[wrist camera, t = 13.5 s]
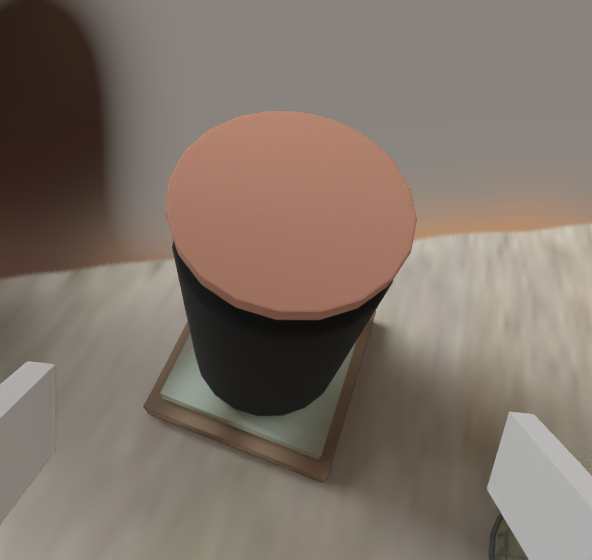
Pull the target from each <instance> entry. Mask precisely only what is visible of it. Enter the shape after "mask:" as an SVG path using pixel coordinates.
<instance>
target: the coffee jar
mask: <svg viewBox="0 0 592 560" xmlns="http://www.w3.org/2000/svg"><path fill="white" fill-rule="evenodd" d="M165 213H166V217H167V220H168V223H169V227H170V230H171V233H172V237H173V246H172V249H173V253H174V258H175V263H176V267H177V272H178V277H179V282H180V286H181V291H182V296H183V300H184V305H185V310H186V315H187V319H188V324H189V329H190V334H191V338H192V343H193V348H194V352H195V356H196V360H197V363H198V367H199V370H200V374H201V376H202V378H203V379H204V380H205V382H206V383H207V385H208V386H209V387H210V389H211V390H212V392H213V393H214V395H216V396H217V397H219V398H220V399H221V400H223V401H224V402H225V403H227V404H228V405H230V406H231V407H232V408H234V409H236V410H240V411H243V412H246V413H249V414H253V415H256V416H283V415H286V414H289V413H292V412H294V411H297V410H300V409H303V408H305V407H307V406H308V405H309V404H311V403H312V402H313V401H314V400H316V399H317V398H318V397H319V396H321V395H322V394H323V393H324V392H325V390H326V389H327V387H328V386H329V384H330V383H331V381H332V379H333V378H334V376H335V375H336V373H337V372H338V370H339V368H340V367H341V365H342V363H343V362H344V360H345V359H346V357H347V355H348V354H349V352H350V350H351V349H352V347H353V346H354V344H355V342H356V341H357V339H358V338H359V336H360V334H361V333H362V331H363V329H364V328H365V326H366V325H367V323H368V321H369V320H370V318H371V316H372V315H373V313H374V312H375V310H376V308H377V307H378V305H379V304H380V302H381V300H382V299H383V297H384V295H385V294H386V292H387V291H388V289H389V287H390V286H391V284H392V282H393V279H394V277H395V276H396V274H397V273H398V271H399V269H400V268H401V266H402V265H403V263H404V262H405V260H406V259H407V257H408V256H409V254H410V253H411V248H412V243H413V237H414V232H415V226H416V220H417V219H416V214H415V209H414V204H413V199H412V195H411V189H410V187H409V186H408V184H407V182H406V181H405V179H404V177H403V176H402V174H401V172H400V170H399V169H398V167H397V165H396V164H395V162H394V161H393V160H392V159H391V158H390V157H389V156H388V155H387V154H386V153H384V151H383V150H381V149H380V148H379V147H378V146H377V145H376V144H375V143H374V142H373V141H372V140H371V139H369V138H367V137H366V136H364V135H362V134H360V133H359V132H357V131H355V130H353V129H351V128H350V127H348V126H346V125H344V124H342V123H340V122H337V121H334V120H330V119H327V118H323V117H320V116H316V115H313V114H310V113H302V112H285V111H268V112H262V113H256V114H251V115H244V116H239V117H237V118H234V119H232V120H230V121H228V122H225V123H223V124H221V125H219V126H217V127H214V128H212V129H210V130H208V131H207V132H206V133H205V134H204V135H202V136H201V137H200V138H199V139H198V140H197V141H196V142H194V144H192V145H191V146H190V147H189V148H188V149H187V150H185V151H184V153H183V155H182V157H181V159H180V160H179V162H178V164H177V166H176V168H175V170H174V172H173V173H172V175H171V177H170V179H169V184H168V193H167V202H166V212H165Z"/></svg>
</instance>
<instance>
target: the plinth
mask: <svg viewBox="0 0 592 560" xmlns="http://www.w3.org/2000/svg"><path fill="white" fill-rule="evenodd" d="M375 313H376V311H375V312H374V313H373V315H372V316H371V318H370V320H369V321H368V323H367V325H366V326H365V328H364V329H363V331H362V333H361V334H360V336H359V338H358V339H357V341H356V342H355V344H354V346H353V347H352V349H351V350H350V352H349V354H348V355H347V357H346V359H345V360H344V362H343V363H342V365H341V367H340V368H339V370H338V372H337V373H336V375H335V376H334V378H333V379H332V381H331V383H330V384H329V386H328V387H327V389H326V390H325V392H324V393H323V394H322V395H321V396H319V397H318V398H317V399H316V400H314V401H313V402H312V403H311V404H309V405H308V406H307V407H305V408H303V409H300V410H297V411H294V412H292V413H289V414H286V415H283V416H256V415H253V414H249V413H246V412H243V411H240V410H236V409H234V408H232V407H231V406H230V405H228V404H227V403H225V402H224V401H223V400H221V399H220V398H219V397H217V396H216V395H214V393H213V392H212V390H211V389H210V387H209V386H208V385H207V383H206V382H205V380H204V379H203V378H202V376H201V374H200V370H199V367H198V363H197V360H196V356H195V352H194V348H193V343H192V338H191V334H190V329H189V324H188V322H187V324H186V326H185V328H184V330H183V332H182V334H181V336H180V338H179V340H178V342H177V343H176V345H175V347H174V349H173V351H172V353H171V355H170V357H169V359H168V361H167V363H166V365H165V367H164V368H163V370H162V372H161V374H160V376H159V378H158V380H157V382H156V384H155V386H154V388H153V390H152V391H151V393H150V395H149V397H148V399H147V401H146V403H145V405H144V408H145V410H146V411H147V413H148V414H151V415H153V416H156V417H158V418H161V419H163V420H166V421H169V422H171V423H174V424H176V425H179V426H181V427H184V428H186V429H189V430H191V431H194V432H196V433H199V434H201V435H204V436H206V437H209V438H211V439H214V440H217V441H219V442H222V443H224V444H227V445H229V446H232V447H234V448H237V449H239V450H242V451H244V452H247V453H249V454H252V455H254V456H257V457H260V458H262V459H265V460H267V461H270V462H272V463H275V464H277V465H280V466H282V467H285V468H287V469H290V470H292V471H295V472H297V473H300V474H302V475H305V476H308V477H310V478H313V479H315V480H318V481H320V482H323V481H325V480H326V479H327V476H328V473H329V469H330V466H331V463H332V459H333V456H334V452H335V449H336V446H337V442H338V439H339V435H340V432H341V429H342V425H343V422H344V418H345V415H346V412H347V408H348V405H349V401H350V398H351V395H352V391H353V388H354V385H355V381H356V378H357V374H358V371H359V368H360V364H361V361H362V357H363V354H364V351H365V347H366V344H367V340H368V337H369V334H370V330H371V327H372V324H373V320H374V317H375Z"/></svg>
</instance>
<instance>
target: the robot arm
mask: <svg viewBox="0 0 592 560" xmlns="http://www.w3.org/2000/svg"><path fill="white" fill-rule="evenodd" d="M55 450H56V367H55V364H50V363H40V362H31V361H27V362H26V363H24V364H23V365H22V366H21V367H20V368H19V369H17V370H16V371H15V372H14V373H13V374H12V375H10V376H9V377H8V378H7V379H6V380H5V381H3V382H2V383H1V384H0V524H1V523H2V522H3V520H4V519H5V518H6V516H7V515H8V513H9V512H10V511H11V509H12V508H13V507H14V505H15V504H16V503H17V501H18V500H19V499H20V497H21V496H22V494H23V493H24V492H25V490H26V489H27V488H28V486H29V485H30V484H31V482H32V481H33V480H34V478H35V477H36V476H37V474H38V473H39V471H40V470H41V469H42V467H43V466H44V465H45V463H46V462H47V461H48V459H49V458H50V457H51V455H52V454H53V452H54V451H55ZM487 490H488V492H489V494H490V495H491V497H492V499H493V500H494V502H495V504H496V506H497V507H498V509H499V511H500V512H501V514H502V516H503V517H504V519H505V521H506V522H507V524H508V526H509V527H510V529H511V531H512V532H513V534H514V536H515V537H516V539H517V541H518V542H519V544H520V546H521V547H522V549H523V551H524V552H525V554H526V556H527V557H528V559H529V560H592V476H591V474H590V473H589V472H588V471H587V470H586V469H585V468H584V467H583V466H582V465H581V464H580V463H579V462H578V461H577V460H576V458H575V457H574V456H573V455H572V454H571V453H570V452H569V451H568V450H567V449H566V448H565V447H564V446H563V445H562V444H561V442H560V441H559V440H558V439H557V438H556V437H555V436H554V435H553V434H552V433H551V432H550V431H549V430H548V429H547V428H546V426H545V425H544V424H543V423H542V422H541V421H540V420H539V419H538V418H537V417H536V416H535V415H534V414H528V413H518V412H509V414H508V418H507V421H506V424H505V428H504V431H503V435H502V438H501V442H500V445H499V449H498V452H497V455H496V459H495V462H494V466H493V469H492V473H491V476H490V480H489V483H488V486H487Z"/></svg>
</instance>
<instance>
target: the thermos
mask: <svg viewBox="0 0 592 560" xmlns="http://www.w3.org/2000/svg"><path fill="white" fill-rule="evenodd" d="M489 558H490V560H529V559H528V557H527V556H526V554H525V552H524V551H523V549H522V547H521V546H520V544H519V542H518V541H517V539H516V537H515V536H514V534H513V532H512V531H511V529H510V527H509V526H508V524H507V522H506V521H505V519H504V517H503V516H502V514H500V515H499V516H498V518H497V520H496V522H495V525H494V527H493V530H492V532H491V536H490V549H489Z"/></svg>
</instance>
